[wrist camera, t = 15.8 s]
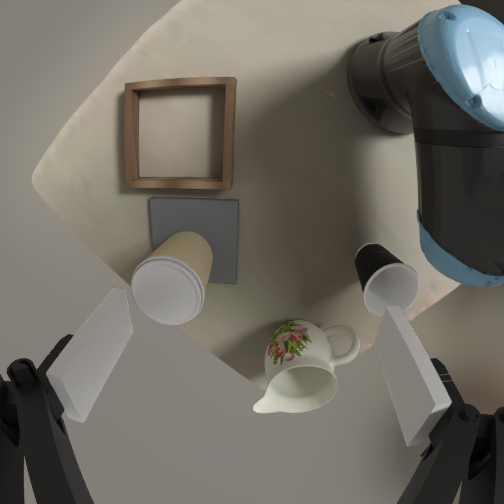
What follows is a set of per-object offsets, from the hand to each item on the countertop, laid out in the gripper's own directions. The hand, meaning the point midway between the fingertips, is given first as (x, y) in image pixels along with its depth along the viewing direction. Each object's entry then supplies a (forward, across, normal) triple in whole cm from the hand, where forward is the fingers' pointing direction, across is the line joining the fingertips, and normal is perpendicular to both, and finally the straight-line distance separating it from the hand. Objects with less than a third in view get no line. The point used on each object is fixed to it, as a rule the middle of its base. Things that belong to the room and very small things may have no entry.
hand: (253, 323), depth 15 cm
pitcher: (+31, +8, -24) cm, 40 cm away
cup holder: (+31, -12, +8) cm, 34 cm away
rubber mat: (+31, -10, -8) cm, 33 cm away
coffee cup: (+30, -11, -10) cm, 33 cm away
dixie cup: (+31, +17, -9) cm, 36 cm away
